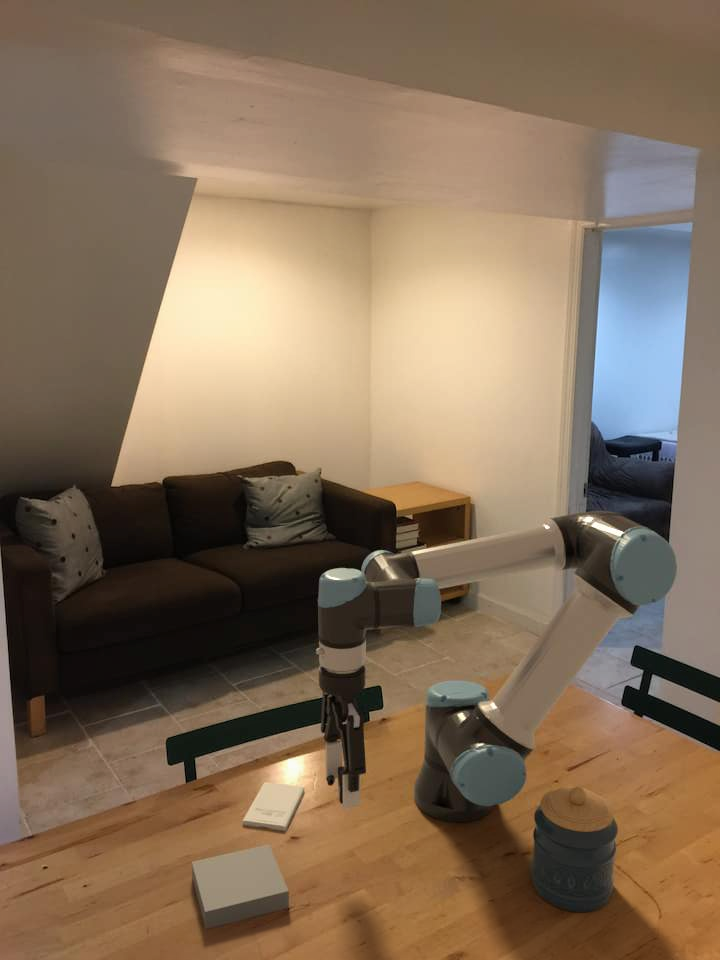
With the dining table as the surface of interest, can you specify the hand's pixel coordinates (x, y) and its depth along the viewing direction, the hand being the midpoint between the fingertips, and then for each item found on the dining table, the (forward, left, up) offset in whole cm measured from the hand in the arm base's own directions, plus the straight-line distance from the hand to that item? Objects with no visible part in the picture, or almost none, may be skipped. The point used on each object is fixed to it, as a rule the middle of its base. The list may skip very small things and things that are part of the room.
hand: (342, 791), depth 137 cm
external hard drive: (+7, -18, -14) cm, 24 cm away
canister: (-33, +19, -13) cm, 40 cm away
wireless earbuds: (0, 0, 0) cm, 0 cm away
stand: (+18, +2, -13) cm, 22 cm away
